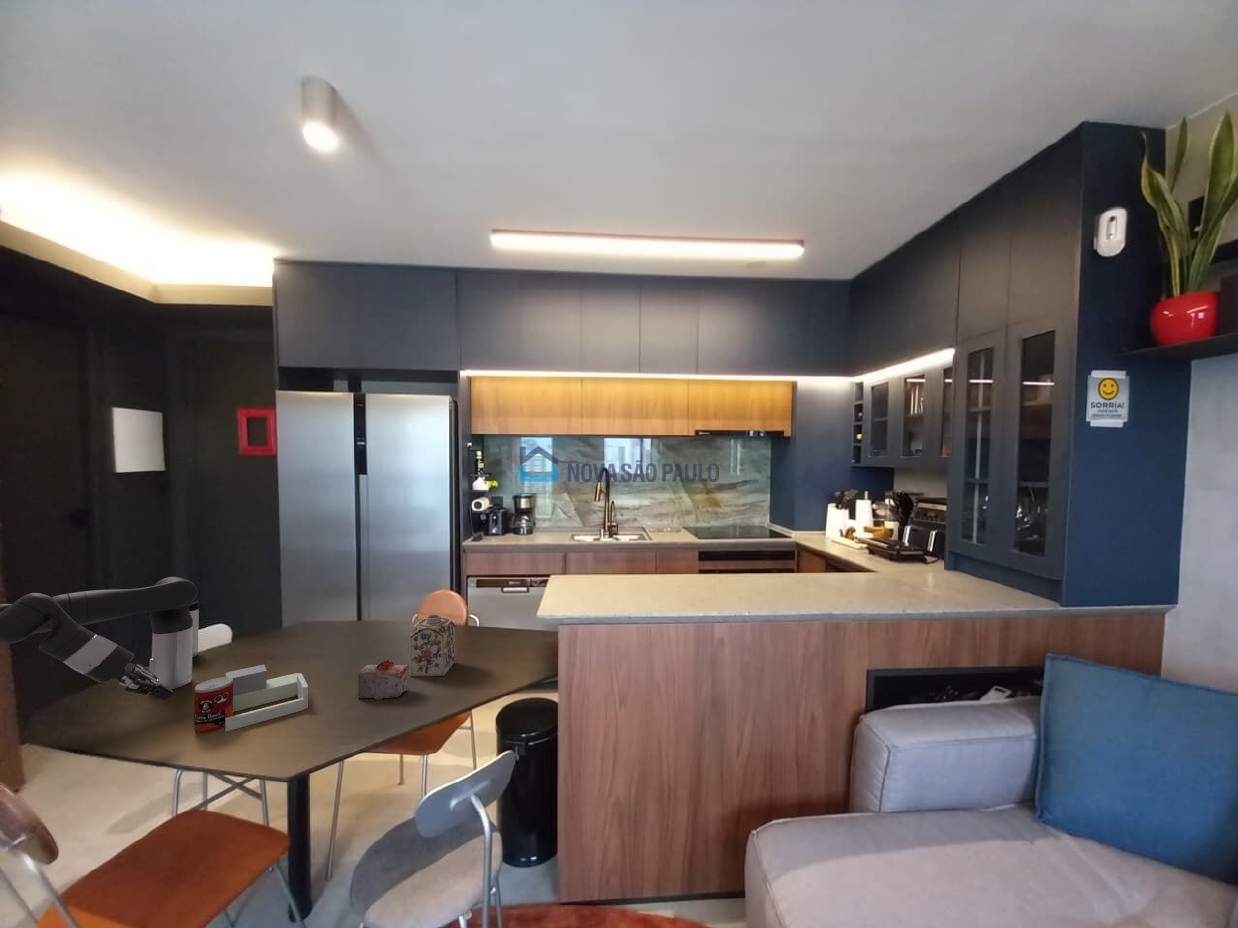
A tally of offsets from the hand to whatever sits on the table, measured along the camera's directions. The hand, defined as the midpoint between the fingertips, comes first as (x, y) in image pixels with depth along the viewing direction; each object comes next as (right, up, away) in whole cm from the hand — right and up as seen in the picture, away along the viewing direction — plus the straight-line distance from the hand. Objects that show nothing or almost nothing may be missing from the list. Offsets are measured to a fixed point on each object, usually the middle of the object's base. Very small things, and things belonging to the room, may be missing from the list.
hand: (169, 695), depth 119 cm
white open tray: (+11, -11, +15) cm, 22 cm away
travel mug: (-43, -12, +52) cm, 69 cm away
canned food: (+6, -11, +6) cm, 14 cm away
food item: (+42, -11, +23) cm, 50 cm away
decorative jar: (+50, -12, +41) cm, 66 cm away
